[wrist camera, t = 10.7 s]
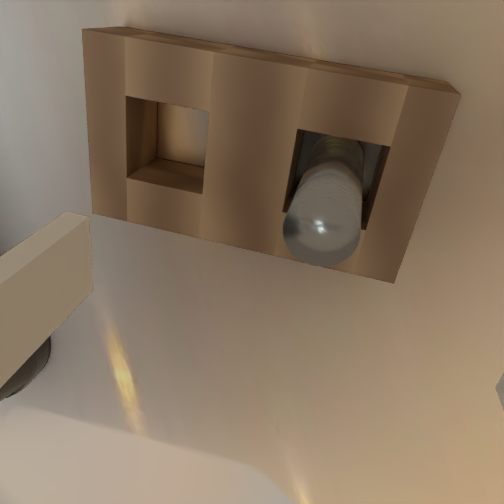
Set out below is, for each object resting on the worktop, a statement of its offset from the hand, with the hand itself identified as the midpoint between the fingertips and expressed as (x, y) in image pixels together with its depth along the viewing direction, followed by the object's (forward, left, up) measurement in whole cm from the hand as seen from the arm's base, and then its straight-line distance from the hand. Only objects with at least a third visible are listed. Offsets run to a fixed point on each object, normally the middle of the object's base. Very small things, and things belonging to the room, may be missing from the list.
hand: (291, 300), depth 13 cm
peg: (0, 0, -15) cm, 15 cm away
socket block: (-4, 0, -15) cm, 15 cm away
